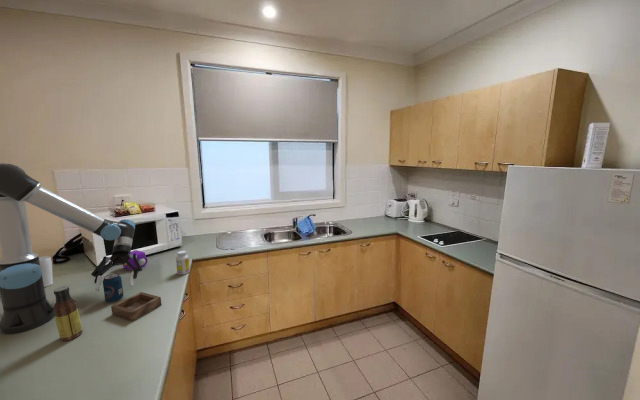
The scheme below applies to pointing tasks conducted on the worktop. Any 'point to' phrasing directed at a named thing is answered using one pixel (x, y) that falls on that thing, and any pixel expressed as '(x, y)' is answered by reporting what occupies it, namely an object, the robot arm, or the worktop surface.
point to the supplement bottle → (182, 263)
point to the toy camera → (140, 257)
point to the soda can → (113, 287)
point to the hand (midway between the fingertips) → (114, 287)
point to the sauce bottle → (66, 314)
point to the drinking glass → (46, 270)
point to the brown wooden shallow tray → (136, 306)
